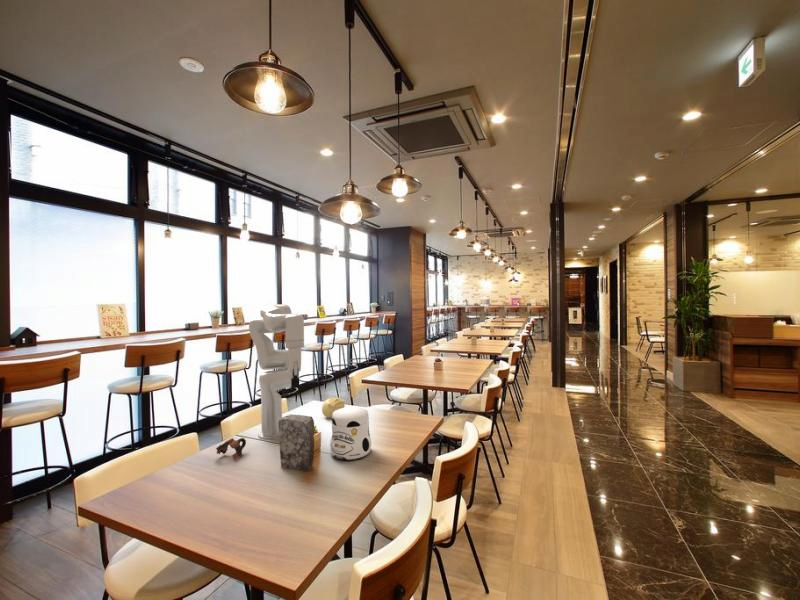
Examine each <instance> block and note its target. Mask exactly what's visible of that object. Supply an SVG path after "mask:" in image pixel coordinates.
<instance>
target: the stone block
mask: <svg viewBox="0 0 800 600" xmlns="http://www.w3.org/2000/svg"><path fill="white" fill-rule="evenodd" d="M278 423H279V437H278V441H279V458H280V468H281V469H287V470H293V471H298V472H299V471H300V472H305V473H309V472H311V471H312V468H313V465H314V457H315V436H314V435H315V421H314V418H313V416H311V415H309V416H308V415H304V414H303V415H302V414H293V413H292V414H287V415H284V416H282V418H280V419H279V422H278Z"/></svg>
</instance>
